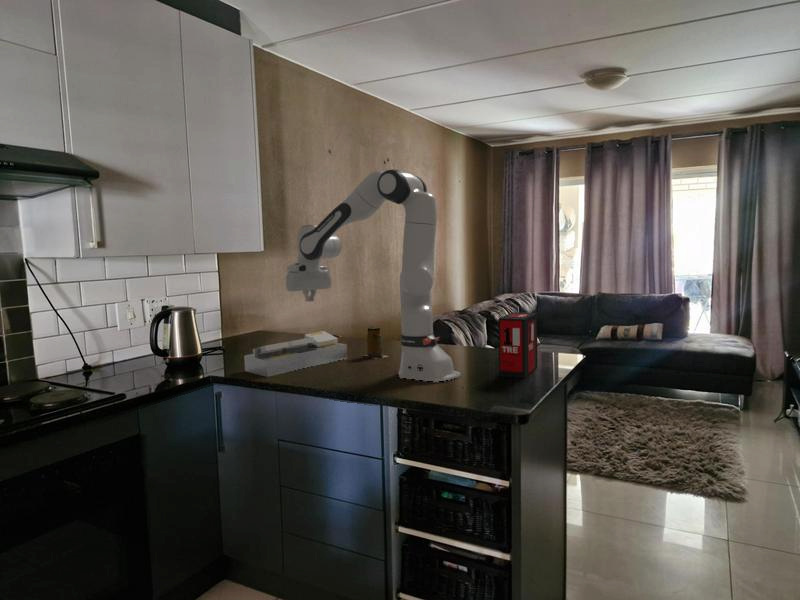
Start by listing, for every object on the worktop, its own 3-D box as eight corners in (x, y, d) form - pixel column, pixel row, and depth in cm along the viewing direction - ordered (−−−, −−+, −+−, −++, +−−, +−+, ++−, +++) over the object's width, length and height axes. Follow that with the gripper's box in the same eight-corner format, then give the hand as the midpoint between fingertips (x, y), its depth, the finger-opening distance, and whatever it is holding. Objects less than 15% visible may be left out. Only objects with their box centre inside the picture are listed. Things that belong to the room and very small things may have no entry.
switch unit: (347, 358, 226) (346, 336, 225) (267, 376, 198) (266, 351, 198) (323, 354, 236) (322, 332, 235) (245, 371, 209) (243, 346, 208)
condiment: (376, 354, 234) (375, 326, 233) (388, 356, 228) (388, 328, 227) (362, 356, 230) (361, 328, 229) (374, 359, 223) (373, 330, 222)
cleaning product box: (524, 378, 186) (524, 319, 184) (499, 375, 190) (498, 318, 188) (537, 367, 200) (537, 313, 198) (513, 366, 205) (513, 312, 203)
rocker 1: (289, 346, 208) (288, 341, 209) (266, 351, 201) (264, 345, 201) (276, 350, 215) (275, 344, 215) (253, 354, 207) (252, 349, 207)
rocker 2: (314, 341, 217) (313, 336, 217) (293, 345, 210) (292, 340, 210) (301, 345, 223) (300, 340, 223) (280, 349, 216) (279, 344, 216)
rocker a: (337, 342, 226) (338, 338, 226) (317, 346, 219) (318, 342, 218) (323, 335, 232) (324, 330, 232) (303, 339, 225) (304, 334, 224)
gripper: (324, 265, 228) (324, 298, 229) (283, 267, 213) (284, 302, 214) (334, 265, 224) (334, 299, 225) (293, 267, 209) (294, 304, 210)
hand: (309, 301), depth 220 cm, fingers closed
